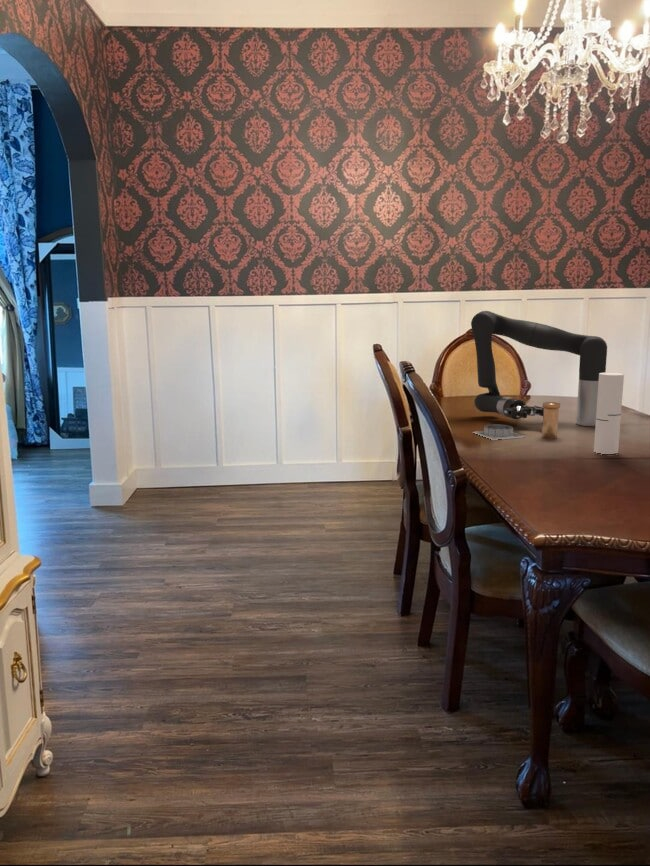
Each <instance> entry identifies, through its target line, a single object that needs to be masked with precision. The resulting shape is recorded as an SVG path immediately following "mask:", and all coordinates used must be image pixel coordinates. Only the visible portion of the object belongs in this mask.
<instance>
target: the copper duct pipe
mask: <svg viewBox="0 0 650 866" xmlns="http://www.w3.org/2000/svg"><path fill="white" fill-rule="evenodd" d="M542 407H543V408H544V411H543V416H542V431H541V434H542V436H541V437H542V438H543V437H544V438H543V439H549V438H554V439H558V427H559V410H560V409H559V408H561V403H559V402H555V401H554V402H553V401H545V402H542Z"/></svg>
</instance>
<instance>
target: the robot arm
mask: <svg viewBox="0 0 650 866" xmlns="http://www.w3.org/2000/svg"><path fill="white" fill-rule="evenodd" d="M470 326H471V330H472V331H471V332H472V335H473V338H474V339H473V340H474V345H475V352H476V353H475V354H476V369H477V371H476V372H477V383H478V386H479V388H483V389H484V388H485V389H487V390H488V392H484V393H480V394H478V395H476V397H475V398H474V405H475V406H474V407H475V408H476V409H477V410H478V411H480V412H481V413H482V412H483V413H494V414H495V413H496V414H498V415H501V416H503V417H505V418H510V419H514V420H520V419H521V418H523V419H527V418H528V416H530V417H535V416H541V417H543V411H544V407H543V406H537V405H533V406H532V405H527V404H526V403H525V402H524V400H522V399H519V398H514V397H511V396H503V395H501V394H500V390H499V388H498V387H499V386H498V384H497V383H498V382H497V377H496V374H497V373H496V363H495V359H494V354H493V347H492V345H493V344H492V338H493V335H497V336H502V337H506V338H509V339H511V340H513V341H516V342H518V343H520V344H522V345H525V346H529V347H532V348H536V349H540V350H541V349H542V350H548V351H558V352H567V353H570V354H574V355H577V356H579V365H578V366H579V369H578V387H577V388H578V389H577V403H576V419H575V421H576V422H575V424H577V426H585V427H595V426H596V412H597V397H598V383H599V373H607V371H606V370H607V357H608V344H607V342H606V340H604V339H603V338H602V337H601V336H595V335H585V334H580V333H579V334H578V333H573V332H569V331H566V330H564V329H562V328H558V327H555V326H552V325H551V326H550V325H547V324H544V323H538V322H536V321H535V322H534V321H530V320H522V319H517V318H510V317H507V316H503V315H501V314H498V313H495V312H494V311H493V312H492V311H489V310H482V311H480V312H478V313H476V314H475V315H474V316H473V317H472V318H471V321H470Z"/></svg>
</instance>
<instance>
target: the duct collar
mask: <svg viewBox="0 0 650 866" xmlns="http://www.w3.org/2000/svg"><path fill="white" fill-rule="evenodd" d="M483 426H484V427H483V430H478V431H477V430H476V431H472V434H473V433H475V434H474V435H476V434H478V435H477V436H479V435H480V436H479V437H482V436H483V437H482V438H484V437H486V438H485V439H487V438H489V439H488V440H490V439H491V441H499V440H498V439H502V440H510V439H521V438H526V437H525V435H524V434H520V433H517V432H514V427H513V426H511V425H508V424H497V423H496V424H495V423H494V424H486V425H483Z"/></svg>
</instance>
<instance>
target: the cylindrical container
mask: <svg viewBox="0 0 650 866" xmlns="http://www.w3.org/2000/svg"><path fill="white" fill-rule="evenodd" d="M624 378H625V374H624V373H621V372H606V373H599V383H598V397H597V412H596V426H594V427H595V429H594V442H593V453H594V452H596V453H595V454H597V453H601V454H600V455H602V454H614V453H618V454H619V444H620V443H619V442H620V433H621V432H620V431H621V420H622V419H621V416H622V407H623V406H622V404H623V394H624V393H623V391H624V382H625V380H624Z"/></svg>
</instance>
